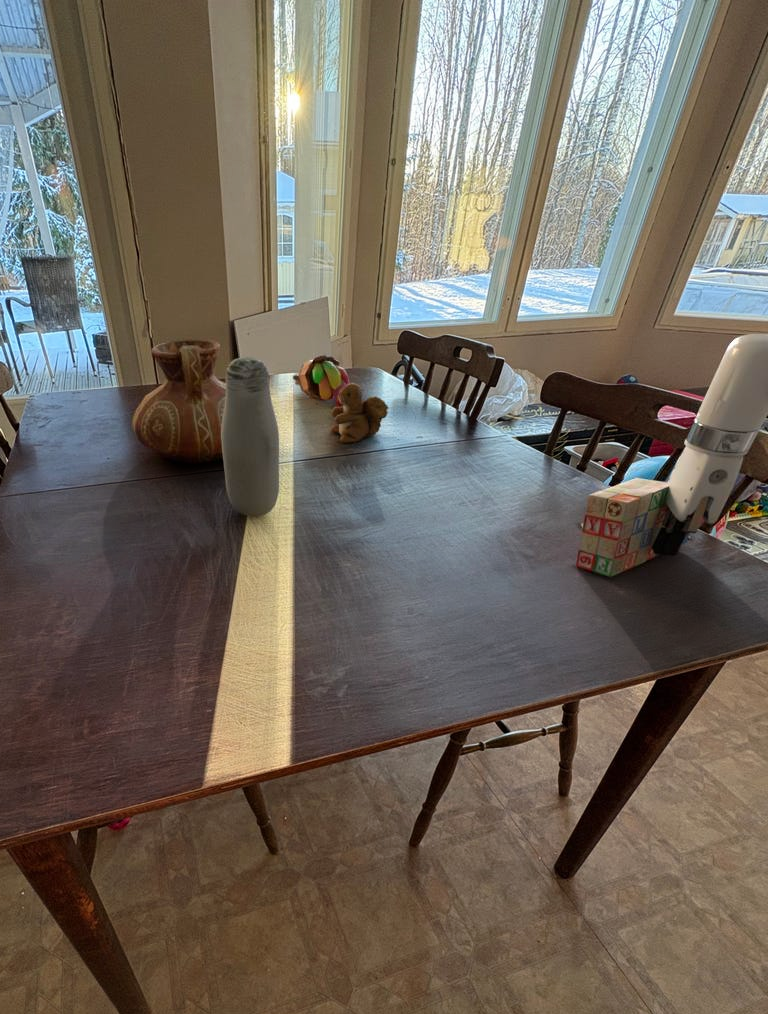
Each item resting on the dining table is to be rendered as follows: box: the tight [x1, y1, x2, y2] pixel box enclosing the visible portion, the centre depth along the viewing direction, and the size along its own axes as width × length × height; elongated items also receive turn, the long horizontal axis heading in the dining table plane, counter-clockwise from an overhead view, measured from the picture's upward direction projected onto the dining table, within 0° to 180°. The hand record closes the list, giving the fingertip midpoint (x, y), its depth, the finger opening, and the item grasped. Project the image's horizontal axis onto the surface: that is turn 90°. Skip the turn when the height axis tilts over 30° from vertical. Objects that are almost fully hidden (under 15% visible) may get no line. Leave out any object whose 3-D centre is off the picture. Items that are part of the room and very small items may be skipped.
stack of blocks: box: [575, 477, 691, 578], centre depth 87 cm, size 21×6×12 cm, turn 120°
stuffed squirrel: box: [330, 381, 390, 444], centre depth 136 cm, size 10×14×13 cm
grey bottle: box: [221, 356, 280, 518], centre depth 97 cm, size 10×10×28 cm
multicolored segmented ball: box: [292, 354, 350, 407], centre depth 167 cm, size 15×15×25 cm
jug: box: [131, 338, 226, 464], centre depth 127 cm, size 30×30×25 cm
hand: (663, 552), depth 85 cm, fingers closed
